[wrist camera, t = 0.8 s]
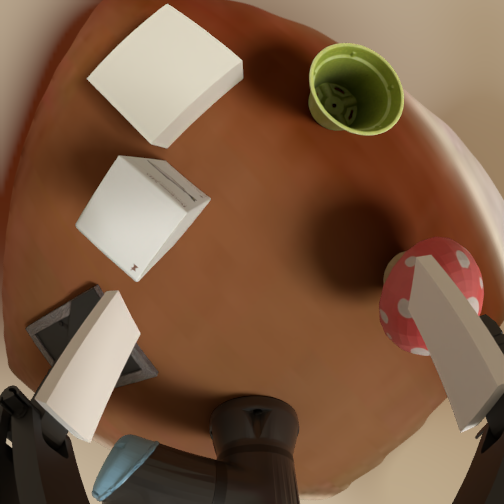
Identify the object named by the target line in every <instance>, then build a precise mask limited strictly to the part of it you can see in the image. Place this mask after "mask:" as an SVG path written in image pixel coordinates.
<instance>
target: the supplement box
mask: <svg viewBox="0 0 504 504" xmlns="http://www.w3.org/2000/svg"><path fill="white" fill-rule="evenodd" d="M210 200H211V198H210V197H208V196H207V195H206V194H204V193H203V192H202V191H200V190H199V189H198V188H197V187H195V186H194V185H193V184H192V183H191V182H189V181H188V180H187V179H186V178H185V177H183V176H182V175H181V174H180V173H179V172H178V171H176V170H175V169H174V168H173V167H172V166H171V165H170V164H169V163H168V162H166V161H164V160H157V159H149V158H140V157H130V156H121V155H119V156H118V157H117V159H116V160H115V162H114V163H113V165H112V166H111V168H110V169H109V171H108V172H107V174H106V175H105V177H104V179H103V180H102V182H101V183H100V185H99V186H98V188H97V190H96V191H95V193H94V194H93V196H92V197H91V199H90V201H89V202H88V204H87V206H86V207H85V209H84V210H83V212H82V214H81V216H80V217H79V219H78V221H77V222H76V227H77V229H78V230H79V231H80V232H81V233H82V234H83V235H85V236H86V237H87V238H88V239H89V240H90V241H91V242H92V243H93V244H94V245H95V246H96V247H97V248H99V249H100V250H101V251H102V252H103V253H104V254H105V255H106V256H107V257H108V258H109V259H111V260H112V261H113V262H114V263H115V264H116V265H117V266H119V267H120V268H121V269H122V270H123V271H124V272H125V273H127V274H128V275H129V276H130V277H131V278H132V279H133V280H134V281H136V282H138V281H139V280H140V279H141V278H142V277H143V276H144V275H145V274H146V273H147V272H148V271H149V270H150V269H151V268H152V267H153V266H154V265H155V264H156V263H157V262H158V260H159V259H160V258H161V257H162V256H163V255H164V254H165V253H166V252H167V251H168V250H169V249H170V248H171V247H172V246H173V245H174V244H175V243H176V242H177V241H178V239H179V238H180V237H181V236H182V235H183V233H184V232H185V231H186V230H187V229H188V227H189V226H190V225H191V224H192V222H193V221H194V220H195V219H196V218H197V216H198V215H199V214H200V213H201V211H202V210H203V209H204V208H205V206H206V205H207V204H208V203H209V201H210Z"/></svg>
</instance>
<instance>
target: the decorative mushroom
mask: <svg viewBox="0 0 504 504" xmlns="http://www.w3.org/2000/svg"><path fill="white" fill-rule="evenodd" d="M426 255H432V256H433V257H434V259H435V260H436V261H437V262H438V263H439V265H440V266H441V267H442V268H443V269H444V271H445V272H446V273H447V274H448V276H449V277H450V278H451V279H452V281H453V282H454V283H455V284H456V286H457V287H458V288H459V290H460V291H461V292H462V294H463V295H464V296H465V298H466V299H467V300H468V302H469V303H470V304H471V306H472V307H473V309H474V310H475V311H476V313H477V314H478V316H479V315H480V312H481V309H482V303H483V296H484V290H483V282H482V275H481V272H480V270H479V268H478V266H477V264H476V262H475V260H474V259H473V257H472V255H471V254H470V253H469V252H468V251H467V250H466V249H465V248H464V247H462V246H461V245H460V244H458V243H457V242H455V241H453V240H452V239H450V238H443V237H433V238H430V239H426V240H423V241H420V242H419V243H417V244H416V245H414V246H413V247H412V248H410V249H409V250H407V251H404V252H401V253H399V254H398V255H396V256H395V257H393V259H392V260H391V261H390V262H389V263H388V265H387V268H386V270H385V273H384V278H383V282H384V286H383V290H382V294H381V298H380V302H379V310H380V322H381V325H382V327H383V329H384V332H385V334H386V335H387V336H388V337H389V339H391V340H392V341H393V342H394V343H395V344H396V345H397V346H398V347H400V348H401V349H403V350H404V351H407V352H410V353H414V354H418V355H426V356H428V355H430V353H429V351H428V349H427V347H426V344H425V342H424V340H423V338H422V336H421V334H420V332H419V330H418V328H417V326H416V324H415V322H414V320H413V318H412V316H411V314H410V312H409V310H408V306H409V300H410V295H411V289H412V283H413V276H414V269H415V262H416V257H420V256H426Z"/></svg>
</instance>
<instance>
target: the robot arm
mask: <svg viewBox="0 0 504 504" xmlns="http://www.w3.org/2000/svg"><path fill="white" fill-rule="evenodd" d="M408 310H409V312H410V314H411V316H412V318H413V320H414V322H415V324H416V326H417V328H418V330H419V332H420V334H421V336H422V338H423V340H424V342H425V344H426V347H427V349H428V351H429V353H430V355H431V358H432V360H433V362H434V364H435V367H436V369H437V371H438V374H439V376H440V379H441V381H442V383H443V386H444V388H445V391H446V394H447V396H448V399H449V401H450V404H451V407H452V409H453V412H454V415H455V418H456V421H457V424H458V427H459V430H460V433H461V432H463V431H466V430H468V429H470V428H472V427H475V426H477V425H478V424H479V423H480V422H481V421H482V419H484V417H485V416H486V419H487V422H488V423H487V424H486V425H485V426H484V427H483V428H482V429H481V430H480V431H479V432H478V433H477V435H476V437H475V438H476V439H477V438H478V437H479V436H481V435H482V437H481V440H480V442H479V445H478V448H477V451H476V453H475V456H474V458H473V461H472V463H471V466H470V468H469V470H468V473H467V475H466V477H465V479H464V481H463V483H462V485H461V487H460V489H459V491H458V493H457V495H456V497H455V499H454V501H453V503H452V504H504V334H503V332H502V330H501V329H500V328H499V326H498V325H497V323H496V322H495V321H494V320H492V319H491V318H490V317H489V316H487V315H486V314H485V315H482V316H478V314H477V313H476V311H475V310H474V309H473V307H472V306H471V304H470V303H469V302H468V300H467V299H466V298H465V296H464V295H463V294H462V292H461V291H460V290H459V288H458V287H457V286H456V284H455V283H454V282H453V281H452V279H451V278H450V277H449V276H448V274H447V273H446V272H445V271H444V269H443V268H442V267H441V266H440V265H439V263H438V262H437V261H436V260H435V259H434V257H433V256H432V255H426V256H420V257H416V262H415V269H414V276H413V283H412V289H411V295H410V300H409V306H408ZM139 336H140V332H139V330H138V328H137V326H136V324H135V322H134V321H133V319H132V317H131V315H130V313H129V311H128V309H127V307H126V305H125V303H124V301H123V299H122V297H121V295H120V293H119V291H106V293H105V294H104V295H103V297H102V298H101V299H100V301H99V302H98V303H97V305H96V306H95V307H94V309H93V310H92V311H91V313H90V314H89V315H88V317H87V318H86V320H85V321H84V322H83V324H82V325H81V327H80V328H79V329H78V331H77V332H76V334H75V335H74V337H73V338H72V340H71V341H70V342H69V344H68V345H67V347H66V348H65V350H64V351H63V353H61V354H60V355H59V356H58V357H57V359H56V360H55V362H54V363H53V365H52V368H50V369H49V371H48V373H47V375H46V376H45V377H44V379H43V381H42V382H41V384H40V386H39V387H38V389H37V391H36V392H35V394H34V396H33V398H32V399H31V401H30V400H28V399H27V397H26V396H25V395H24V394H23V393H22V392H21V391H20V390H19V389H18V388H17V387H16V386H9V387H8V388H6V389H5V390H4V391H3V392H2V394H1V395H0V504H90V503H89V500H88V498H87V495H86V492H85V489H84V486H83V483H82V480H81V477H80V473H79V470H78V466H77V463H76V459H75V455H74V451H73V447H72V443H71V440H70V438H69V437H68V436H67V433H68V431H69V432H70V433H71V434H73V435H74V436H75V437H76V438H78V439H81V440H83V441H86V442H89V443H90V442H91V439H92V437H93V435H94V432H95V430H96V427H97V425H98V423H99V420H100V418H101V416H102V413H103V411H104V409H105V407H106V404H107V402H108V400H109V398H110V396H111V393H112V391H113V389H114V387H115V385H116V383H117V380H118V378H119V376H120V374H121V372H122V370H123V368H124V366H125V364H126V362H127V360H128V358H129V356H130V354H131V351H132V349H133V347H134V345H135V343H136V342H137V340H138V338H139ZM209 433H210V436H211V439H212V440H213V446H214V449H215V452H216V455H217V460H214V459H211V458H207V457H203V456H199V455H195V454H192V453H188V452H185V451H182V450H178V449H175V448H172V447H169V446H166V445H163V444H160V443H159V442H158V441H151V440H148V439H145V438H142V437H139V436H136V435H131V434H129V435H125V436H123V437H121V438H120V439H119V440H118V441H117V442H116V444H115V445H114V447H113V448H112V450H111V452H110V453H109V455H108V457H107V458H106V460H105V462H104V464H103V466H102V468H101V470H100V472H99V474H98V476H97V478H96V481H95V484H94V486H93V491H92V496H93V497H94V498H96V499H97V500H98V501H102V504H300V501H299V494H298V487H297V481H296V474H295V467H294V460H293V452H294V448H295V444H296V439H297V436H298V433H299V422H298V417H297V414H296V412H295V410H294V409H293V408H292V407H291V406H290V405H288V404H287V403H285V402H283V401H281V400H278V399H274V398H270V397H264V396H247V397H240V398H236V399H232V400H229V401H227V402H225V403H223V404H221V405H220V406H218V407H217V408H216V409H215V410H214V411H213V413H212V415H211V418H210V425H209ZM482 433H483V434H482ZM6 438H7V439H9V440H10V441H11V442H12V448H11V447H10V446H9V445H7V444H6Z"/></svg>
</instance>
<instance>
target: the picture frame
mask: <svg viewBox="0 0 504 504" xmlns="http://www.w3.org/2000/svg"><path fill="white" fill-rule="evenodd" d="M103 295H104V293H103V292H102V290H101V289H100V287H99V285H96V286H94V287H92V288H91V289H89V290H87V291H85V292H84V293H82V294H80V295H79V296H77V297H75V298H73V299H72V300H70V301H68V302H67V303H65V304H63V305H62V306H60V307H58V308H57V309H55V310H53V311H52V312H50V313H48V314H47V315H45V316H43V317H42V318H40V319H39V320H37V321H35V322H34V323H32V324H30V325H29V326H28V327H26V328H25V329H26V330H27V332H28V334H29V335H30V337H31V338H32V340H33V341H34V343H35V344H36V346H37V347H38V348H39V350H40V351H41V353H42V354H43V355H44V357H45V358H46V360H47V361H48V362H49V364H50V365H51V366H52V365H53V363H54V362H55V360H56V359H57V357H58V356H59V355H60V354H61V353H63V351H64V350H65V348H66V347H67V345H68V344H69V342H70V341H71V340H72V338H73V337H74V335H75V334H76V332H77V331H78V329H79V328H80V327H81V325H82V324H83V322H84V321H85V320H86V318H87V317H88V315H89V314H90V313H91V311H92V310H93V309H94V307H95V306H96V305H97V303H98V302H99V301H100V299H101V298H102V297H103ZM157 374H158V371H157V370H156V368H155V367H154V366H153V364H152V363H151V362H150V361H149V359H148V358H147V357H146V355H145V354H144V353H143V351H142V350H141V349H140V347H139V346H138V344H137V343H135V345H134V347H133V349H132V351H131V354H130V356H129V358H128V360H127V362H126V364H125V366H124V368H123V370H122V372H121V374H120V376H119V378H118V380H117V383H116V385H115V387H114V388H116V387H120V386H124V385H127V384H131V383H135V382H138V381H142V380H145V379H149V378H152V377H156V376H157Z"/></svg>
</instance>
